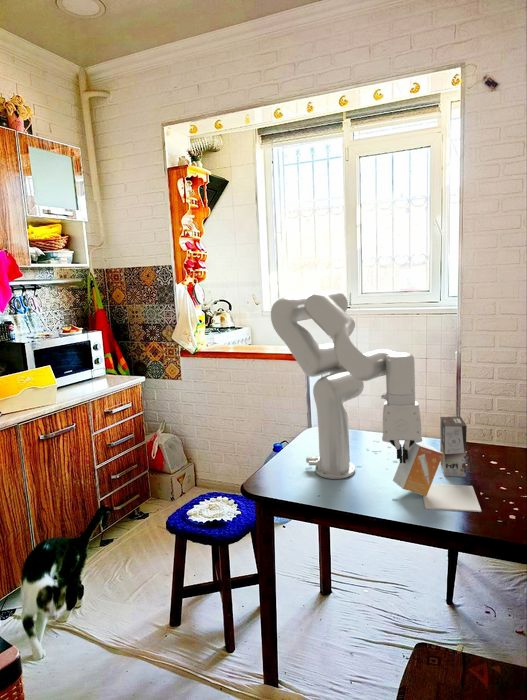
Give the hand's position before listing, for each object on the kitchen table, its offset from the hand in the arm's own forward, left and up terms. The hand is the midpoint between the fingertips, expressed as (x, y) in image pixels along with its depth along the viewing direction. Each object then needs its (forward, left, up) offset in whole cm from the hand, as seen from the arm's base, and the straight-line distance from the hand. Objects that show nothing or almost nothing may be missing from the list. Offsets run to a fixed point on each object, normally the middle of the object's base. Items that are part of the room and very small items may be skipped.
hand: (402, 461), depth 139 cm
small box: (+2, 0, -9) cm, 9 cm away
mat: (+12, 0, -10) cm, 16 cm away
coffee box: (+15, +18, -11) cm, 26 cm away
